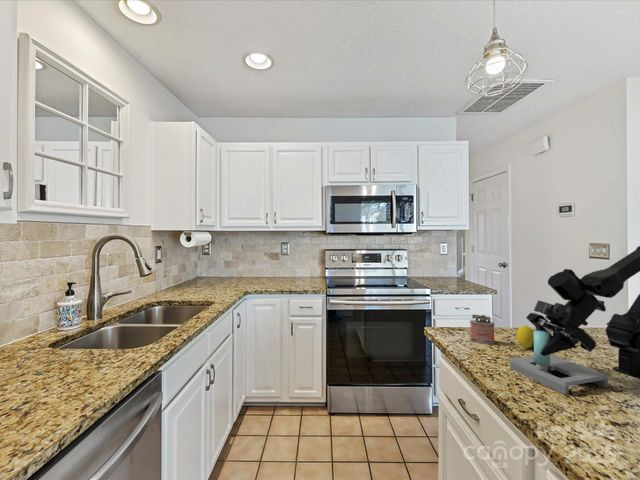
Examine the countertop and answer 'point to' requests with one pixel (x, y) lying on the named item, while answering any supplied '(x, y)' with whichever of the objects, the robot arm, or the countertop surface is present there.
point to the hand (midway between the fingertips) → (536, 352)
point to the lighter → (482, 330)
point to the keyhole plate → (560, 384)
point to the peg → (539, 343)
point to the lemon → (525, 336)
